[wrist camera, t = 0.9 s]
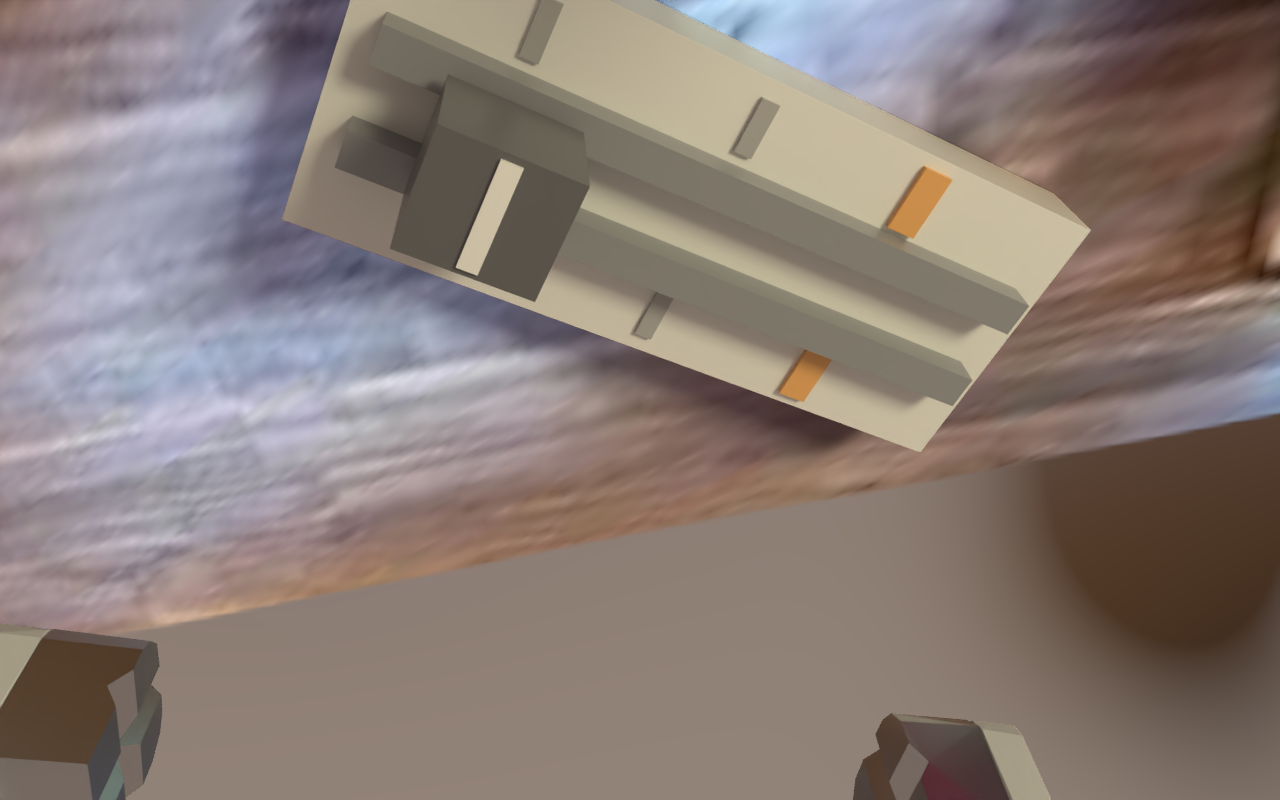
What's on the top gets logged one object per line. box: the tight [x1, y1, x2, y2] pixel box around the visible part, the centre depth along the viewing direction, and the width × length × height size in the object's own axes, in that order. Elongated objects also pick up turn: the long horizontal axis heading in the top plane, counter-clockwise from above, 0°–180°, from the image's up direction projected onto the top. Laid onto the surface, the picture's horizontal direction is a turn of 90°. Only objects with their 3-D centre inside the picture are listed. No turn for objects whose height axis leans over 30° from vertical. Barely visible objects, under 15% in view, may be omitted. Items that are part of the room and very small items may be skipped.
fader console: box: [282, 0, 1091, 452], centre depth 34 cm, size 24×10×4 cm, turn 64°
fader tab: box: [390, 74, 590, 302], centre depth 28 cm, size 4×4×6 cm
